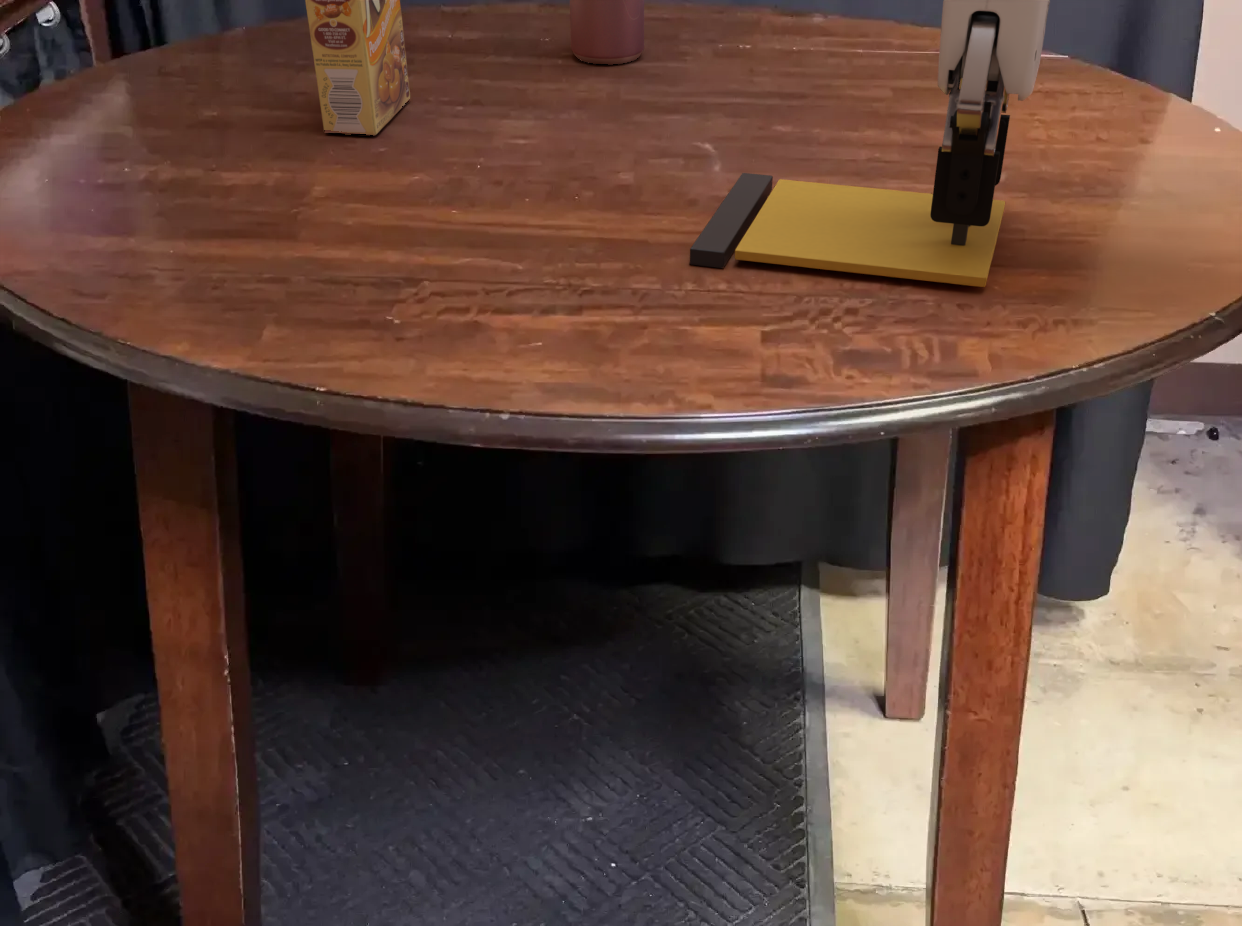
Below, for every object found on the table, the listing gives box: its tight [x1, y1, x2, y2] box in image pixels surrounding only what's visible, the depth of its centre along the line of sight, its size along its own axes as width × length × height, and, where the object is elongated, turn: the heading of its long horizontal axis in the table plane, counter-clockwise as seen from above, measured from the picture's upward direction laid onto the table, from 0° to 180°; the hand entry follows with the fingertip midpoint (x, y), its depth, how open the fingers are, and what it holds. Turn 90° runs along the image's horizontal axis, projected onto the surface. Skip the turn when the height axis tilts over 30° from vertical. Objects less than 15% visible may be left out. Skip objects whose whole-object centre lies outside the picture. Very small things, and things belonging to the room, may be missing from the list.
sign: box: [734, 178, 1006, 288], centre depth 81 cm, size 14×12×6 cm
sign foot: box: [689, 172, 774, 269], centre depth 85 cm, size 2×13×1 cm, turn 163°
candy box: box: [304, 0, 411, 137], centre depth 98 cm, size 9×4×15 cm, turn 171°
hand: (966, 198), depth 80 cm, fingers closed on sign, 5 cm apart
